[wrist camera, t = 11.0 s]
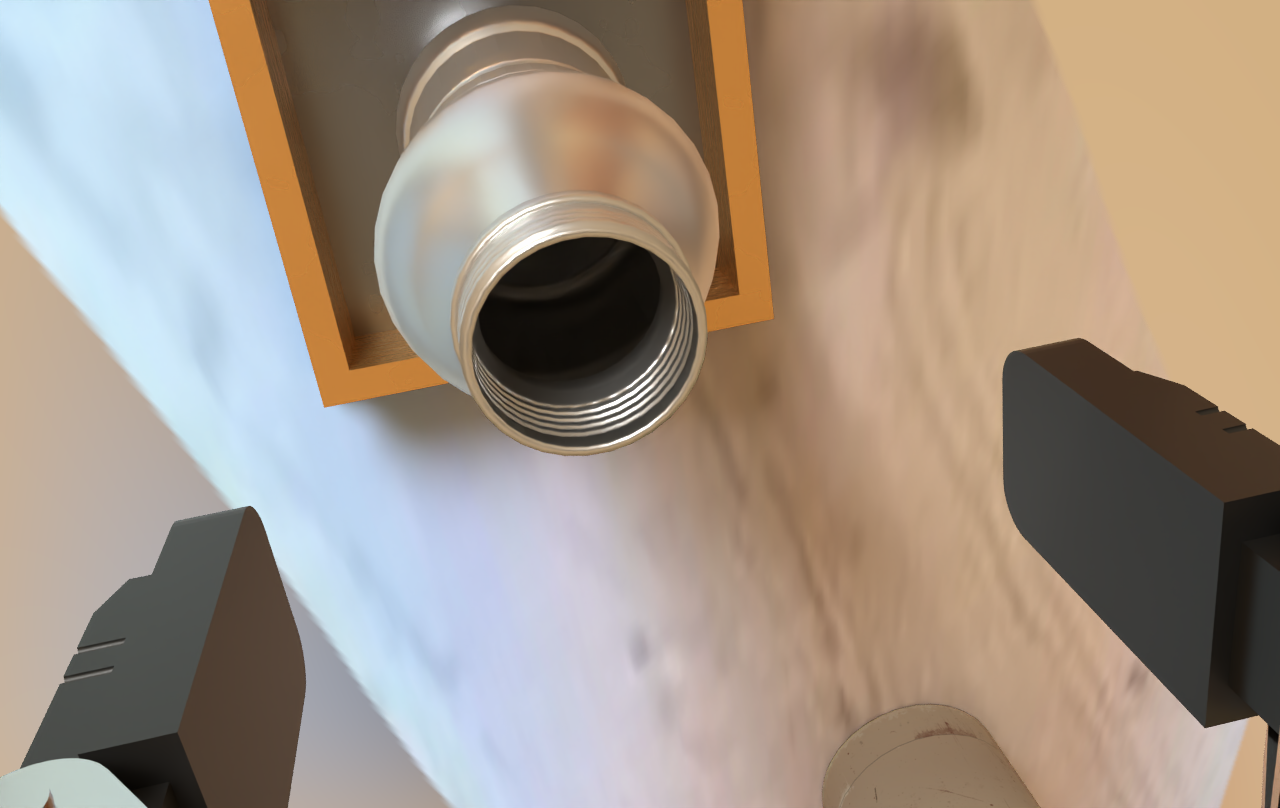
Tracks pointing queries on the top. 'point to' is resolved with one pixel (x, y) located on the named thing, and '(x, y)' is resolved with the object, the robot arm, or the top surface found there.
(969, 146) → the top surface
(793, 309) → the top surface
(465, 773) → the top surface
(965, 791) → the thermos bottle
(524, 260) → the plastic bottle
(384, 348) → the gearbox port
